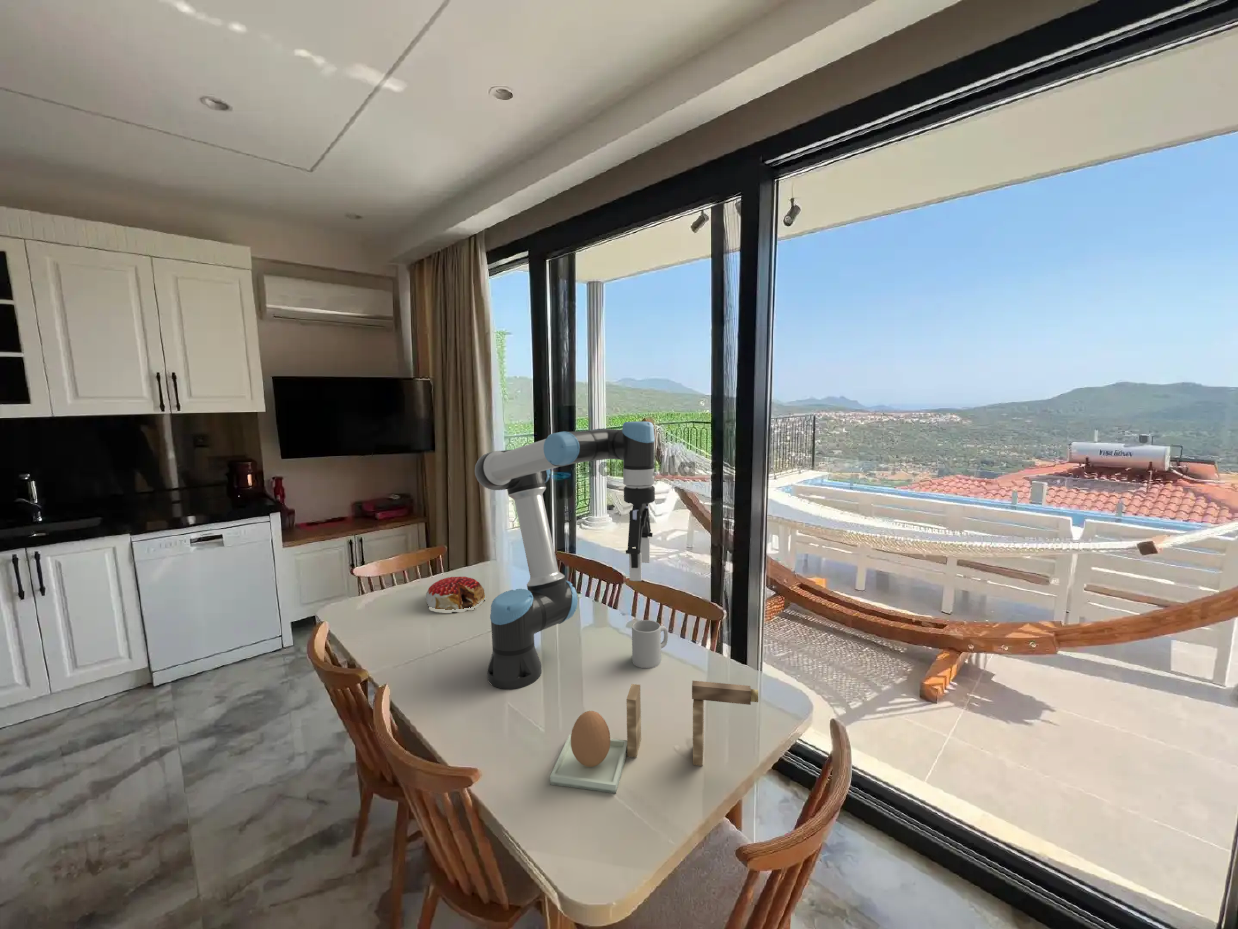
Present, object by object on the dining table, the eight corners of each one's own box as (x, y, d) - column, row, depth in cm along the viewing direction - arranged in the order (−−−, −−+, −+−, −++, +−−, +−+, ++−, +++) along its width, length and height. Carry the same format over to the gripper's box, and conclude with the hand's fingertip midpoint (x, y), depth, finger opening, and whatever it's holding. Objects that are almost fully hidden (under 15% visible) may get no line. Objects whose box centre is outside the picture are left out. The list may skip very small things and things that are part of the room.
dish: (550, 784, 101) (550, 776, 101) (570, 741, 114) (570, 733, 114) (615, 793, 99) (615, 785, 98) (628, 748, 112) (628, 740, 111)
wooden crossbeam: (691, 699, 106) (691, 686, 106) (692, 693, 109) (692, 680, 108) (758, 706, 104) (758, 692, 103) (757, 699, 106) (757, 686, 106)
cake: (467, 620, 181) (465, 593, 180) (413, 611, 190) (411, 585, 188) (503, 596, 203) (502, 572, 201) (453, 590, 211) (451, 567, 210)
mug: (643, 672, 143) (642, 635, 142) (626, 659, 150) (626, 624, 149) (676, 659, 150) (676, 624, 149) (658, 648, 157) (658, 614, 156)
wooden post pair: (627, 756, 109) (626, 699, 107) (632, 738, 115) (631, 684, 113) (702, 766, 106) (702, 707, 104) (703, 747, 112) (703, 690, 110)
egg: (615, 772, 104) (614, 721, 102) (576, 781, 101) (574, 729, 100) (605, 746, 111) (603, 698, 110) (568, 754, 109) (566, 705, 108)
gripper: (646, 495, 109) (647, 589, 111) (660, 478, 133) (661, 556, 136) (612, 494, 110) (614, 588, 113) (632, 478, 135) (634, 555, 137)
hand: (640, 571), depth 124 cm, fingers open, 13 cm apart
